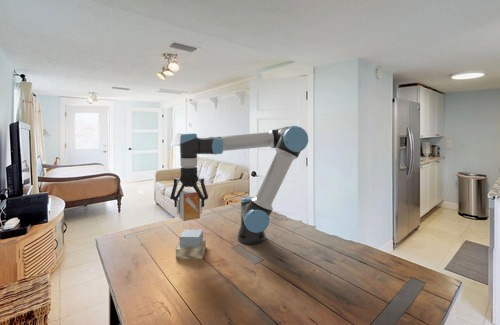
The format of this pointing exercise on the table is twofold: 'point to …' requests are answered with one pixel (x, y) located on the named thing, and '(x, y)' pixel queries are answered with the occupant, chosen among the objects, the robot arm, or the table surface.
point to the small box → (189, 205)
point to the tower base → (191, 251)
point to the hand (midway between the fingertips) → (189, 213)
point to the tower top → (191, 238)
